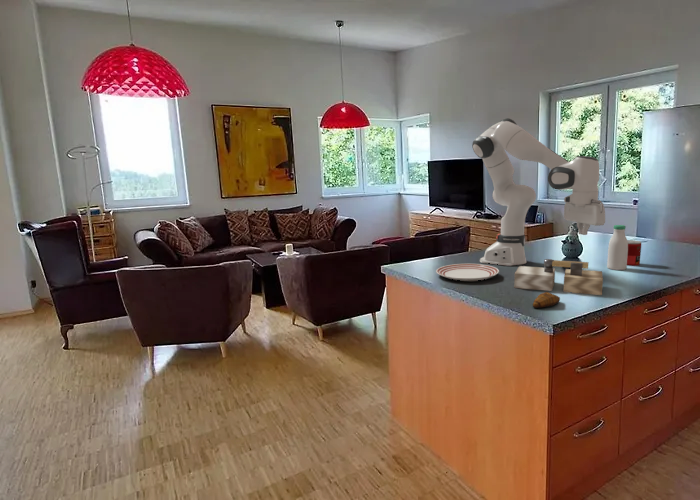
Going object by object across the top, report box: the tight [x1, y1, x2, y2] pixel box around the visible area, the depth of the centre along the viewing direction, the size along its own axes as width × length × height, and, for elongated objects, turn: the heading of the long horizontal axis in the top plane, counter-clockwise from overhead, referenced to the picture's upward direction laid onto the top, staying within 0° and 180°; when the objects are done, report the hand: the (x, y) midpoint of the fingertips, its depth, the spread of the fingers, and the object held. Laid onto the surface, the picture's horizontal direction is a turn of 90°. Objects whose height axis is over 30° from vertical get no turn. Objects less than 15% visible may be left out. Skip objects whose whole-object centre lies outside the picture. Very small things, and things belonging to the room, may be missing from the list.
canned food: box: [627, 239, 642, 267], centre depth 215 cm, size 8×8×11 cm
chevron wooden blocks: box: [513, 263, 604, 296], centre depth 181 cm, size 31×14×11 cm, turn 63°
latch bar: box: [543, 258, 589, 270], centre depth 179 cm, size 16×4×2 cm, turn 61°
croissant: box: [532, 291, 561, 309], centre depth 159 cm, size 14×7×5 cm, turn 121°
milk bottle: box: [606, 224, 628, 271], centre depth 206 cm, size 8×8×20 cm
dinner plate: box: [435, 263, 500, 282], centre depth 204 cm, size 27×27×3 cm
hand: (582, 234), depth 176 cm, fingers closed
